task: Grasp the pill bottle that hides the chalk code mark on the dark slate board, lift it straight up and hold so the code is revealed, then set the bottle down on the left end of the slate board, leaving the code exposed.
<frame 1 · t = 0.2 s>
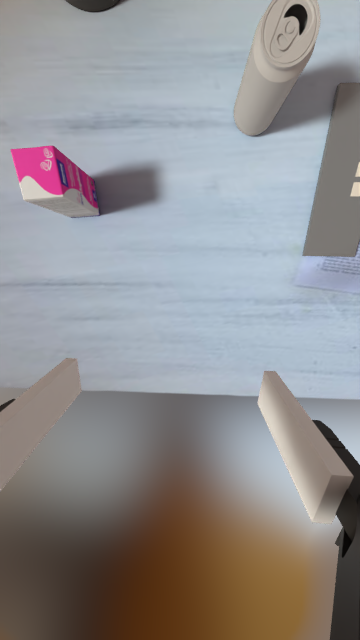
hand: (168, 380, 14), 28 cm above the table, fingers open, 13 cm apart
supplement box: (83, 199, 35), on the table
beverage can: (252, 114, 30), on the table
slate board: (345, 180, 32), on the table
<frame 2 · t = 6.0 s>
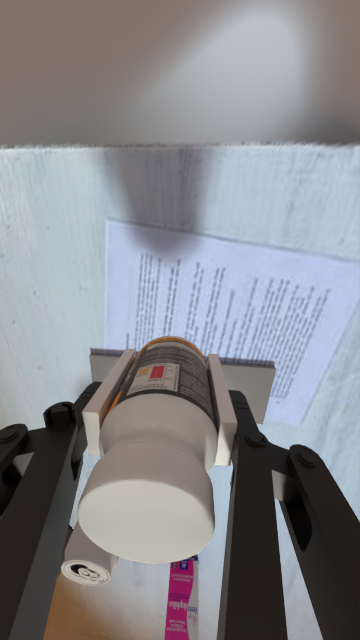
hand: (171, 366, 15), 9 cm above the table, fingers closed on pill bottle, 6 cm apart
supplement box: (184, 561, 42), on the table
beverage can: (123, 462, 33), on the table
pill bottle: (171, 364, 16), point 8 cm above the table, touching gripper
slate board: (179, 387, 27), on the table
when the fingers open (2 cm above the table, at t = 10.8 s): pill bottle stays where it is, resting on slate board.
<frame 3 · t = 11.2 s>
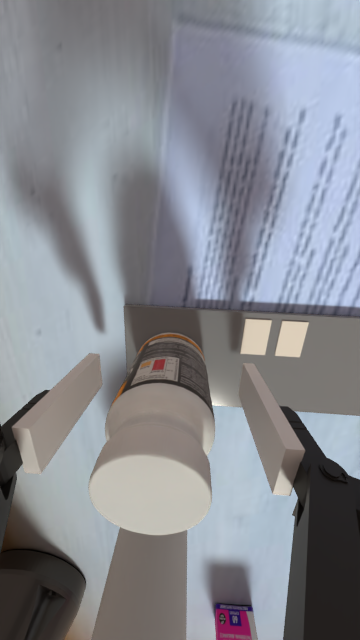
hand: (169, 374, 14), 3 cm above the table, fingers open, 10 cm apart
supplement box: (232, 609, 31), on the table
beverage can: (160, 480, 22), on the table
pill bottle: (171, 359, 17), resting on slate board
slate board: (264, 361, 17), on the table
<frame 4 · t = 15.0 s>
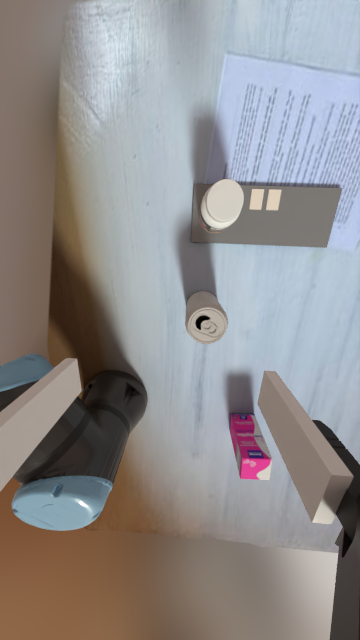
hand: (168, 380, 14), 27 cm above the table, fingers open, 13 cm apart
supplement box: (241, 421, 48), on the table
beverage can: (202, 305, 39), on the table
pill bottle: (215, 216, 34), resting on slate board
slate board: (261, 217, 34), on the table
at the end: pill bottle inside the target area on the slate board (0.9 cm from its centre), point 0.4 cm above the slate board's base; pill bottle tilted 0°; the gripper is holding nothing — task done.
